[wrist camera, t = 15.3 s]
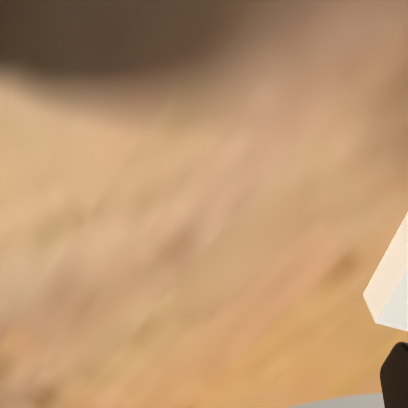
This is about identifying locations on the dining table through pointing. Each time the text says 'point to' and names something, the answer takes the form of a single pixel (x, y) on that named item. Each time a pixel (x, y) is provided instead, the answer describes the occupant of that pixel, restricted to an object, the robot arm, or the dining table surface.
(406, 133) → the dining table surface
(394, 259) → the keyhole board
